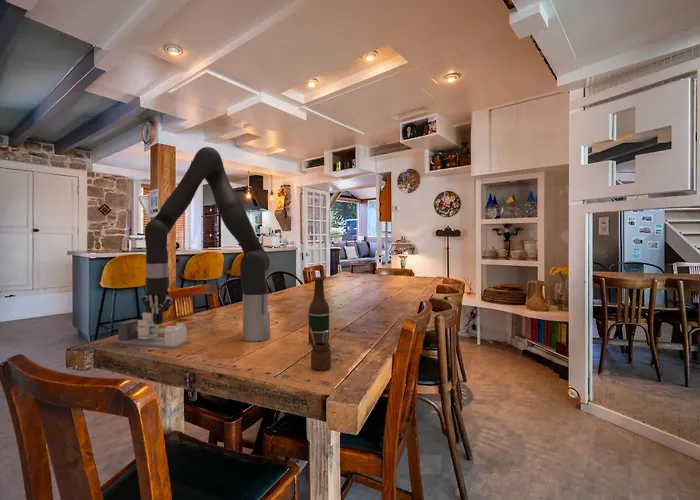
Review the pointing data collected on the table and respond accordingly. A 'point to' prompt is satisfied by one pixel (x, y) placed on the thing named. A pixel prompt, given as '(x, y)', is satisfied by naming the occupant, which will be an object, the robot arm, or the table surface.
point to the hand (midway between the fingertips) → (157, 323)
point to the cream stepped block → (146, 326)
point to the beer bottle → (319, 314)
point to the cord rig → (172, 337)
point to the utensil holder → (320, 354)
